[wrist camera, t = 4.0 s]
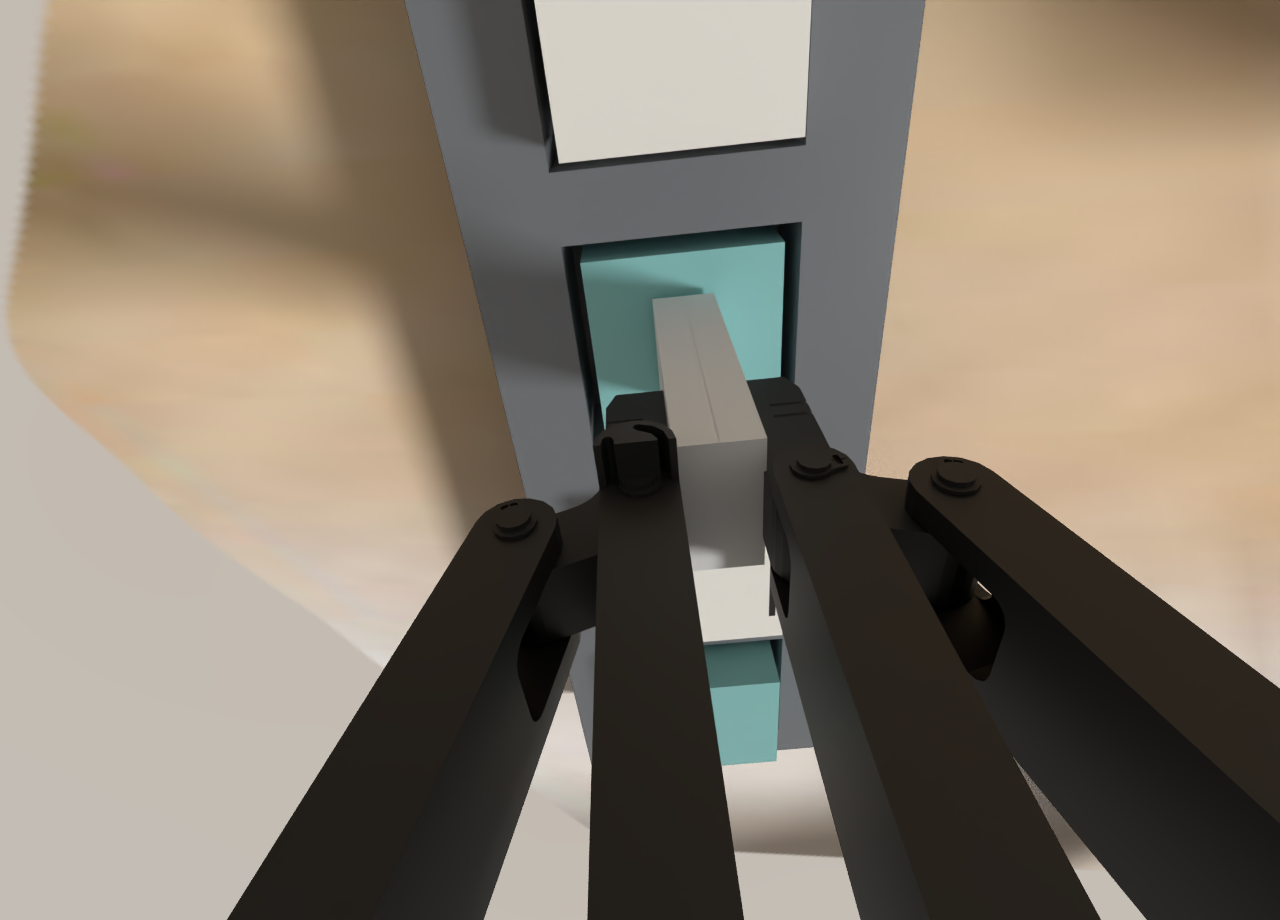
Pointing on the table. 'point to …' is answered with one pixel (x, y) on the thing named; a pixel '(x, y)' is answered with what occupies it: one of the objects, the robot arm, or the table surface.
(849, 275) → the keyboard
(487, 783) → the robot arm
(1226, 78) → the table surface
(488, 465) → the table surface
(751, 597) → the white key
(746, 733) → the teal key
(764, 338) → the teal key
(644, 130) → the white key
